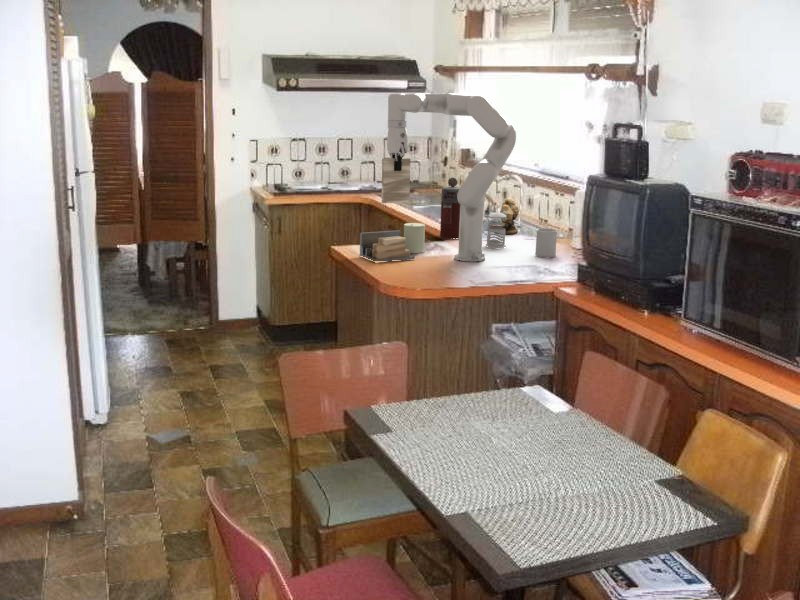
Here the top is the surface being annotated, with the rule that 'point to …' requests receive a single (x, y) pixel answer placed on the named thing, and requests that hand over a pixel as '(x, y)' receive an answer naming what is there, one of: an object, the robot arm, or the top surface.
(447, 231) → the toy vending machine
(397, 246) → the offcut middle
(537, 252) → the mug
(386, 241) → the offcut top
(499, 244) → the french press
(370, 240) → the steel rack
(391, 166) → the birch panel
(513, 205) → the tan bust sculpture
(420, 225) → the can
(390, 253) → the offcut bottom
